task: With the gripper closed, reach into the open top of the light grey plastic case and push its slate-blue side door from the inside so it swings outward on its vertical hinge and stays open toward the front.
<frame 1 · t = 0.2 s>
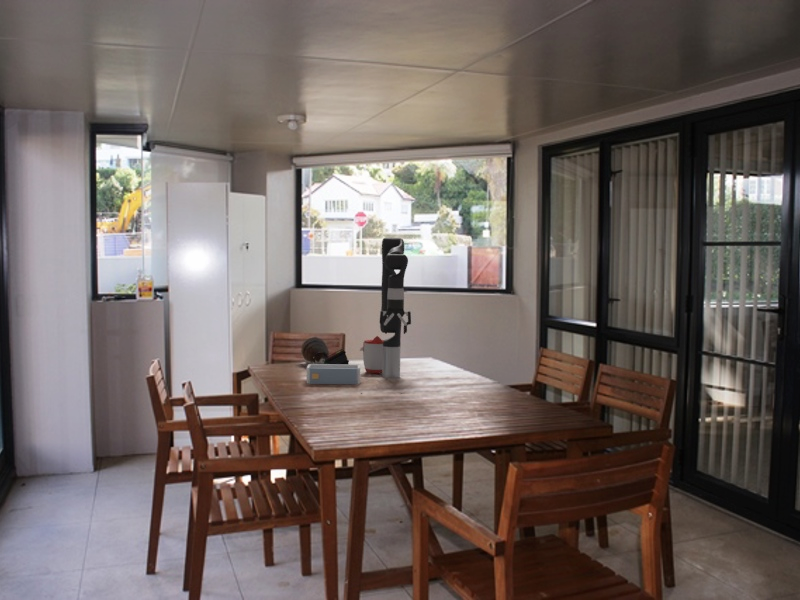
hand: (395, 333, 335), 29 cm above the table, tool pointing down, fingers open, 8 cm apart
clay pot: (317, 366, 420), on the table
citrus juicer: (375, 372, 402), on the table
door: (333, 376, 358), point 5 cm above the table, hinge at 0.0°
magazine: (337, 378, 382), on the table
case: (333, 384, 365), on the table
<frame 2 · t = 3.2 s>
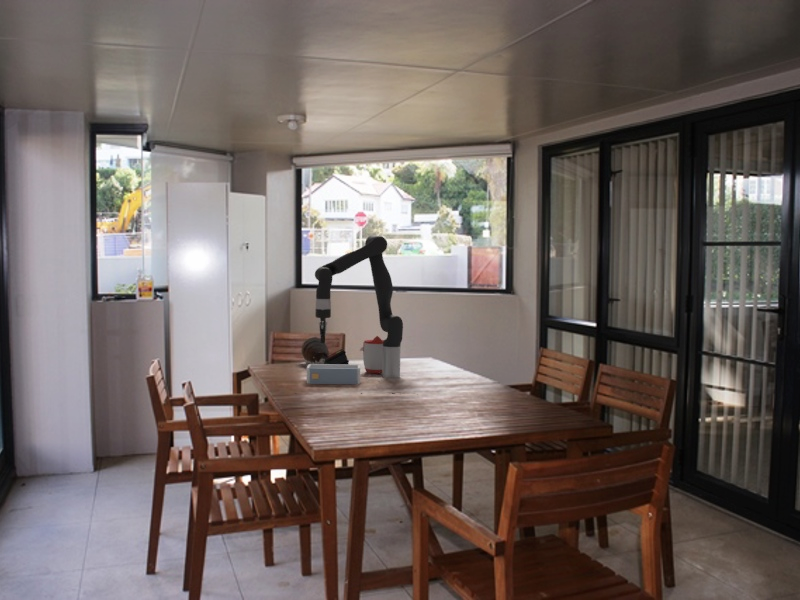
hand: (322, 342, 363), 21 cm above the table, tool pointing down, fingers closed
nothing on the table moved.
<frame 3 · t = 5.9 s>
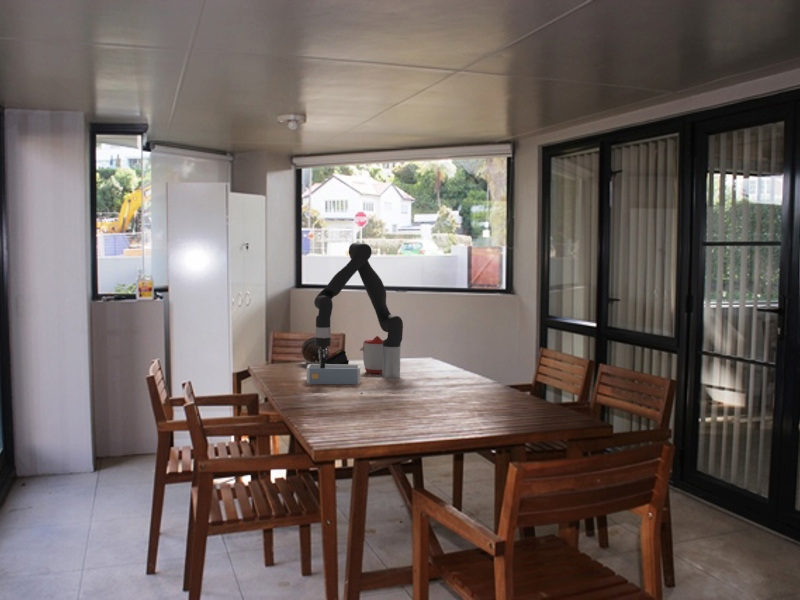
hand: (322, 371, 360), 7 cm above the table, tool pointing down, fingers closed
door: (333, 376, 358), point 5 cm above the table, hinge at 0.0°, touching gripper
everything else where it was.
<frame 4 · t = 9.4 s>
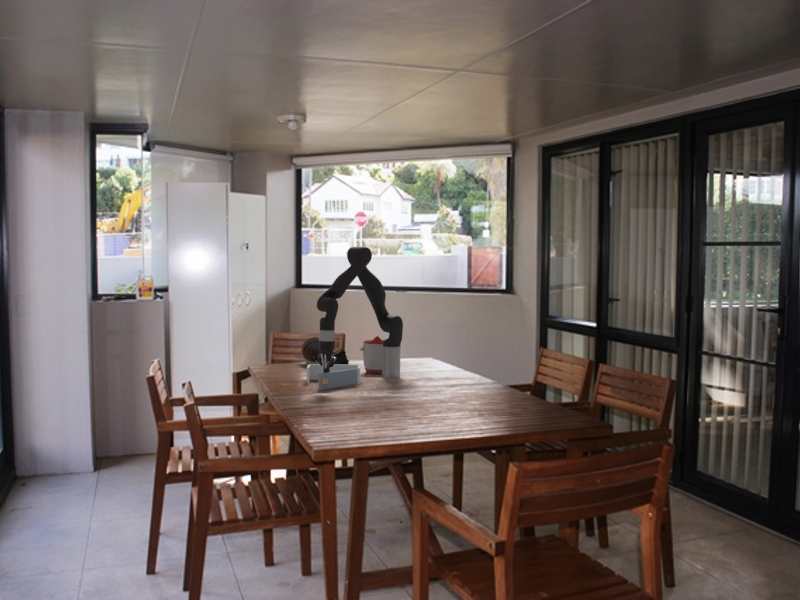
hand: (326, 375, 349), 7 cm above the table, tool pointing down, fingers closed
door: (338, 379, 350), point 5 cm above the table, hinge at 41.8°, touching gripper
everything else where it was.
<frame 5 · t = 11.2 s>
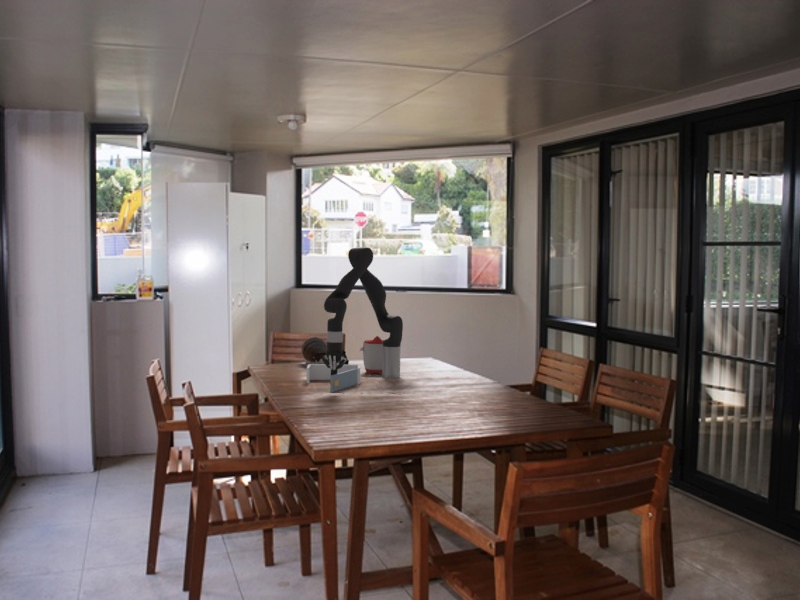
hand: (334, 377, 345), 7 cm above the table, tool pointing down, fingers closed
door: (344, 380, 348), point 5 cm above the table, hinge at 61.4°, touching gripper
everything else where it was.
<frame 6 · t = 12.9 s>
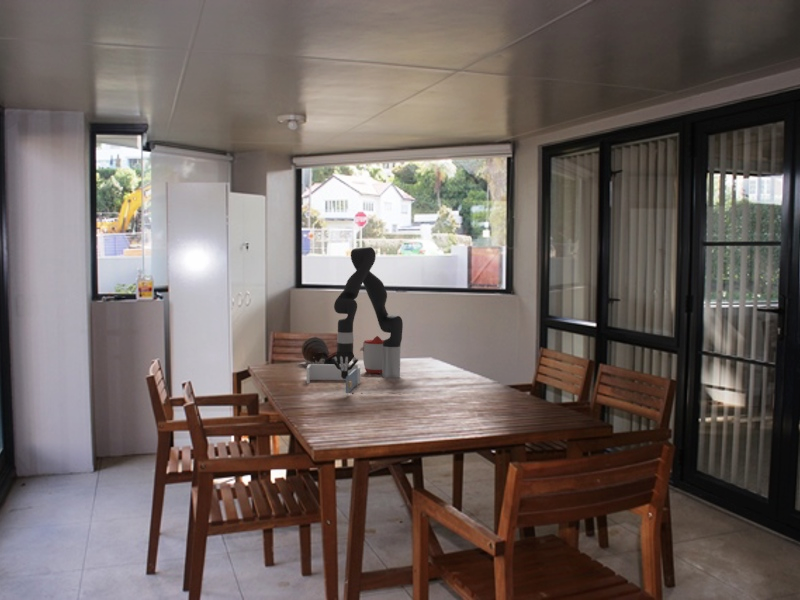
hand: (344, 378, 342), 7 cm above the table, tool pointing down, fingers closed
door: (352, 380, 347), point 5 cm above the table, hinge at 80.8°, touching gripper
everything else where it was.
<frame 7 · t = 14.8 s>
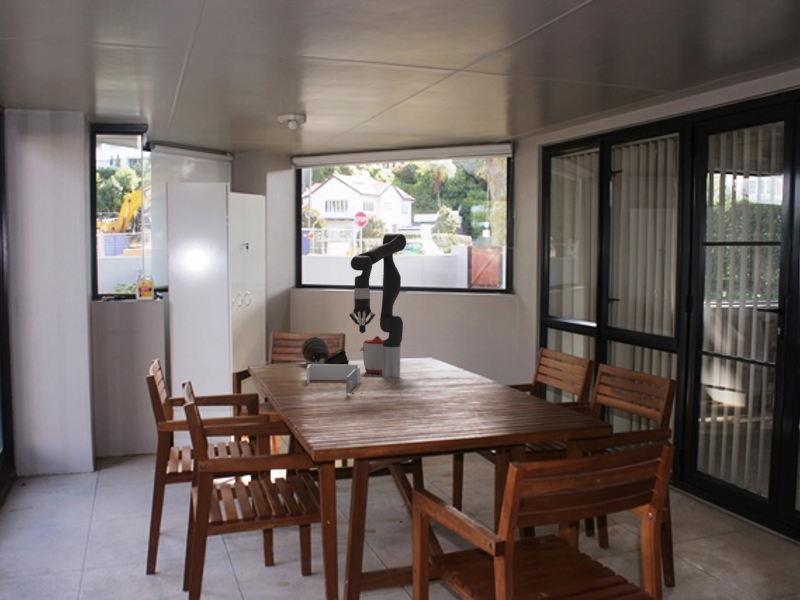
hand: (362, 332, 357), 27 cm above the table, tool pointing down, fingers closed
door: (352, 380, 347), point 5 cm above the table, hinge at 81.2°
everything else where it was.
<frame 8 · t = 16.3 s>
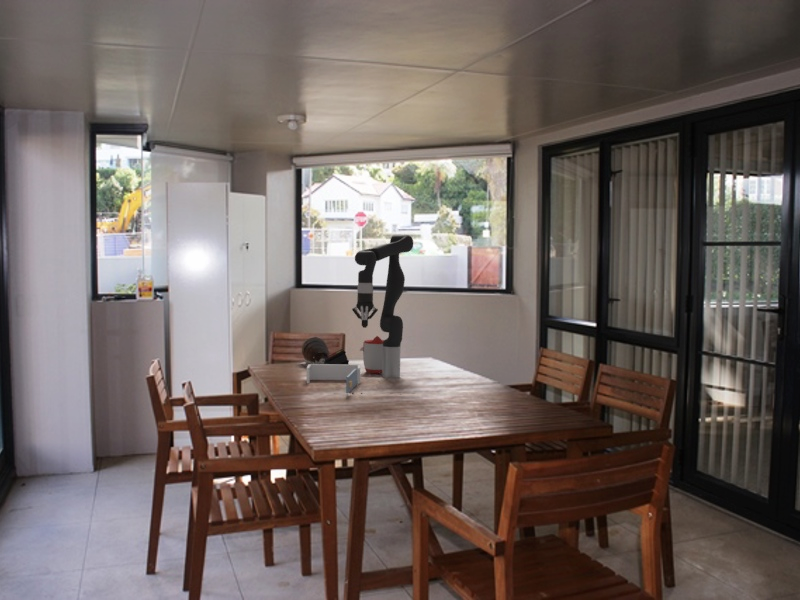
hand: (364, 327, 359), 29 cm above the table, tool pointing down, fingers closed
nothing on the table moved.
at the end: door at +81° (first picture: +0°); magazine moved 0.2 cm from its start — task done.
